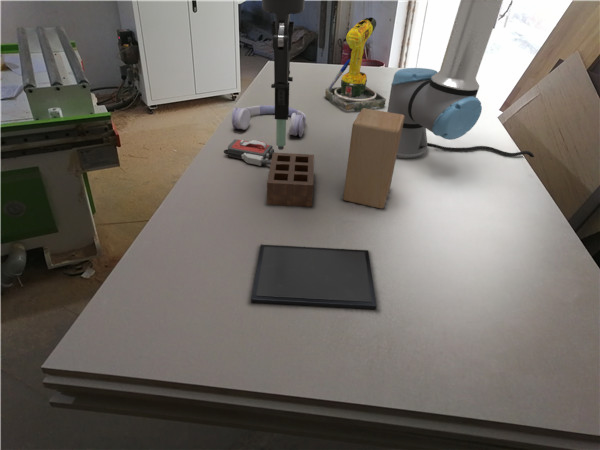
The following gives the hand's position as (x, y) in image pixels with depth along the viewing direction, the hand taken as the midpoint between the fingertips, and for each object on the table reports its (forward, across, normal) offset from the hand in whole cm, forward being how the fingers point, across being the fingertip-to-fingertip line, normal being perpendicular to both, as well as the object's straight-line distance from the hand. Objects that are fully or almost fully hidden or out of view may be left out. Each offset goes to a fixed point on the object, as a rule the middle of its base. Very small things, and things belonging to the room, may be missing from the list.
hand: (281, 116), depth 84 cm
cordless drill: (+22, -71, +24) cm, 78 cm away
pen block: (+21, -6, +2) cm, 22 cm away
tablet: (+21, +25, +8) cm, 34 cm away
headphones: (+22, -45, -6) cm, 50 cm away
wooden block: (+22, -5, +21) cm, 31 cm away
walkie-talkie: (+22, -21, -7) cm, 31 cm away
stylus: (+7, 0, 0) cm, 7 cm away
